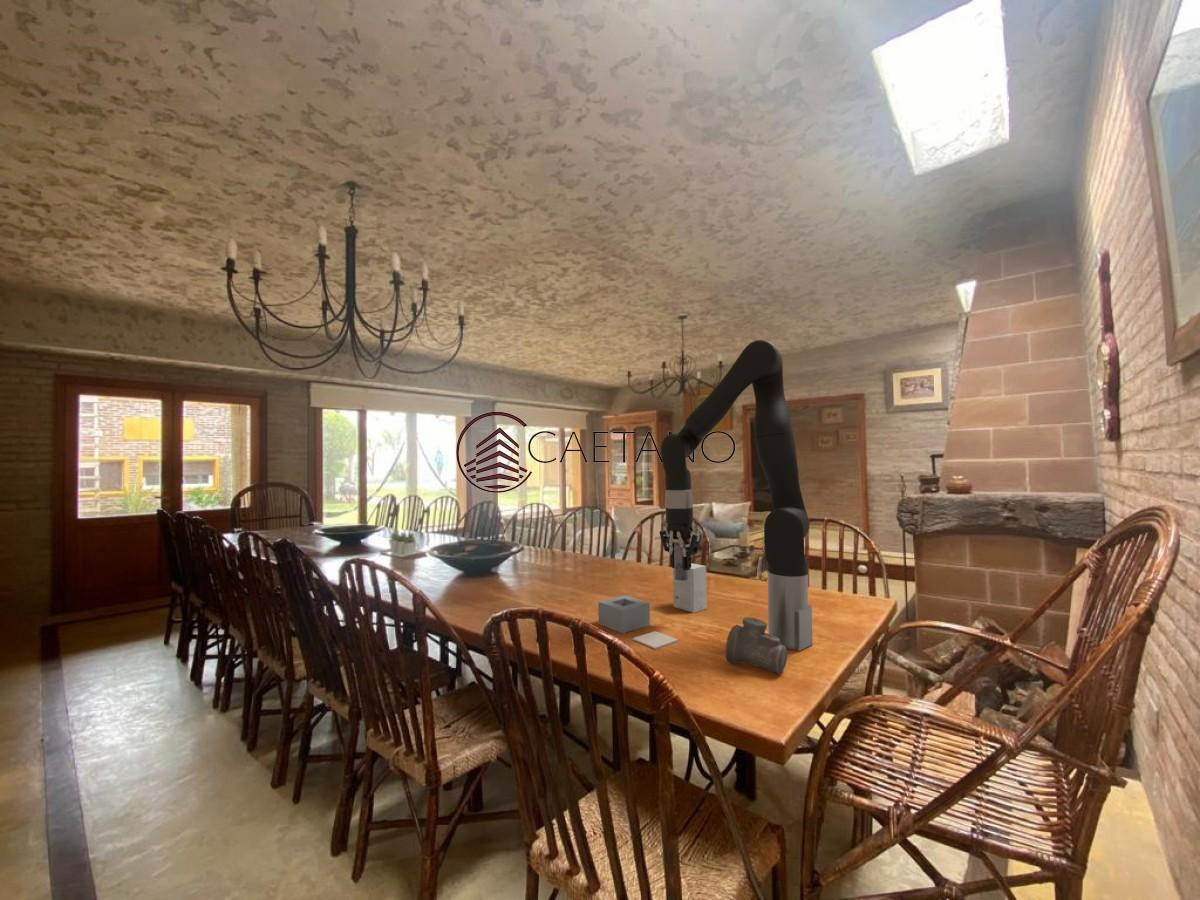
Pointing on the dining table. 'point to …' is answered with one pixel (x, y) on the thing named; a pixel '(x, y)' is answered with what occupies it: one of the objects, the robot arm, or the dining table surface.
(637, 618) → the block
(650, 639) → the coaster
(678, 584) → the small box
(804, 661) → the dining table surface
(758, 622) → the pipe fitting
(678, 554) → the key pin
